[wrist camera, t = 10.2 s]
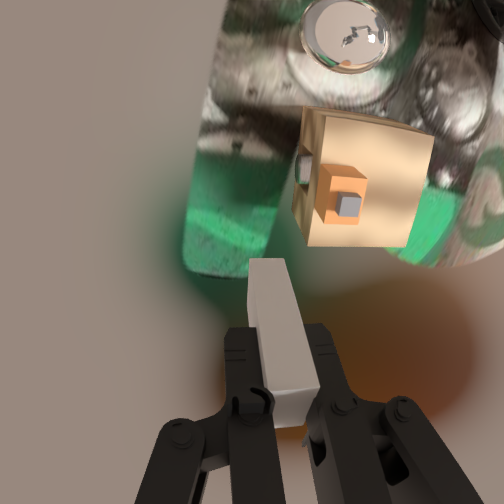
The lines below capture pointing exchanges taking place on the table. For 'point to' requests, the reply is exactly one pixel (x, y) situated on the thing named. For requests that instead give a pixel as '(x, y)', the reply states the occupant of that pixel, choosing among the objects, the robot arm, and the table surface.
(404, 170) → the block
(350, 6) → the light bulb
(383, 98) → the table surface
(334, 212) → the bar
